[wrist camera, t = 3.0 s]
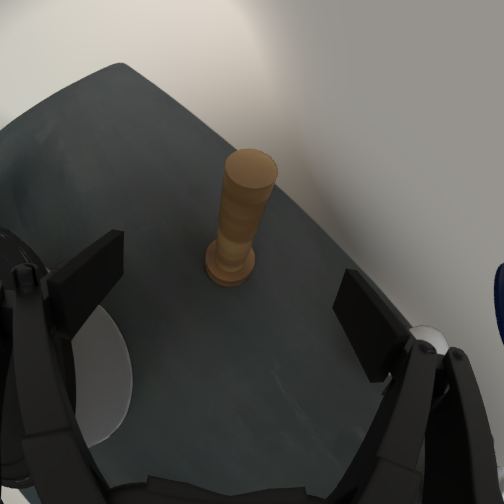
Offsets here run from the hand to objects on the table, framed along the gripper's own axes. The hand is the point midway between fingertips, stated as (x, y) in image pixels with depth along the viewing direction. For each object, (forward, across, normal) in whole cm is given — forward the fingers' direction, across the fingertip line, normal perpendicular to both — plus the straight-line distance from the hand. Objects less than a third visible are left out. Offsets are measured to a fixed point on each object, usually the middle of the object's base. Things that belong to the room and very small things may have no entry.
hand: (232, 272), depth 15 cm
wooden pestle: (+14, 0, -6) cm, 15 cm away
